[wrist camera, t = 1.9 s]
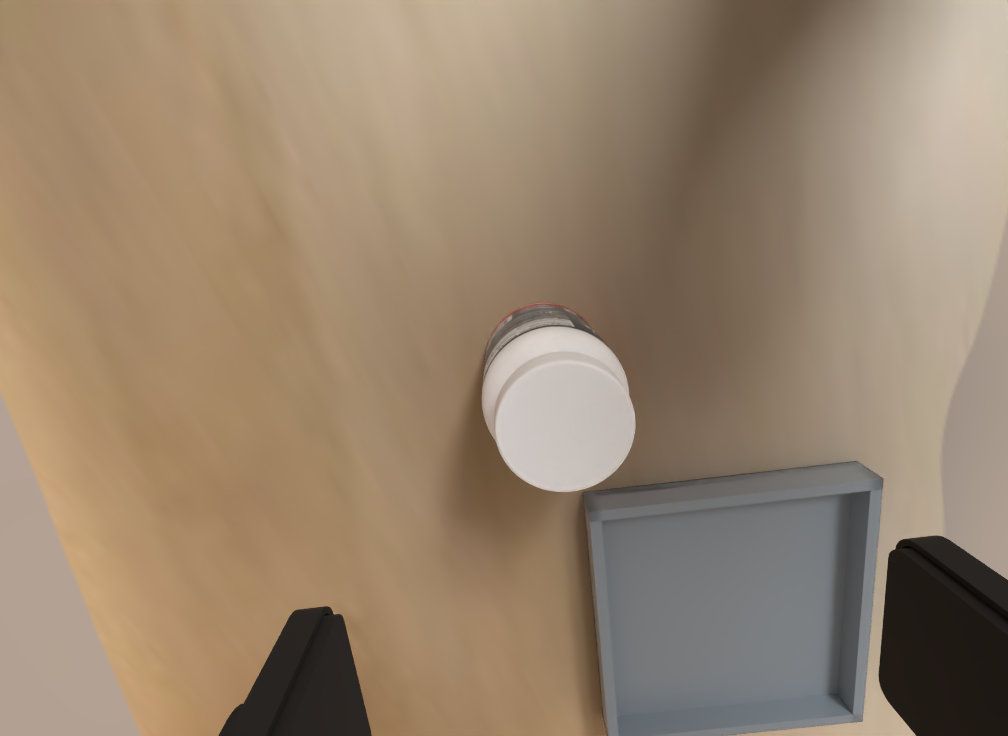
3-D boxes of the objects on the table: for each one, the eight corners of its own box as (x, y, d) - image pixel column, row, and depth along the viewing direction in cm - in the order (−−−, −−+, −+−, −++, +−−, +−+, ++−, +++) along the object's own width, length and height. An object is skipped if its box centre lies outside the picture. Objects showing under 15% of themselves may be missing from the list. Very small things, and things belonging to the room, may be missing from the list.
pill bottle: (608, 391, 27) (668, 484, 18) (504, 421, 27) (507, 528, 18) (580, 285, 26) (630, 324, 16) (471, 319, 26) (454, 375, 16)
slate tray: (583, 492, 29) (589, 511, 27) (857, 461, 28) (883, 478, 26) (603, 716, 33) (609, 747, 31) (841, 692, 33) (862, 721, 31)
